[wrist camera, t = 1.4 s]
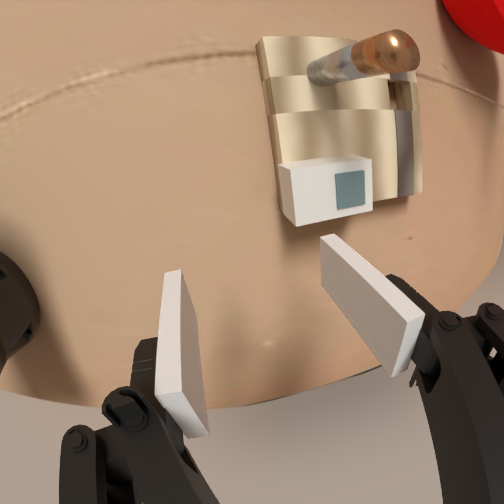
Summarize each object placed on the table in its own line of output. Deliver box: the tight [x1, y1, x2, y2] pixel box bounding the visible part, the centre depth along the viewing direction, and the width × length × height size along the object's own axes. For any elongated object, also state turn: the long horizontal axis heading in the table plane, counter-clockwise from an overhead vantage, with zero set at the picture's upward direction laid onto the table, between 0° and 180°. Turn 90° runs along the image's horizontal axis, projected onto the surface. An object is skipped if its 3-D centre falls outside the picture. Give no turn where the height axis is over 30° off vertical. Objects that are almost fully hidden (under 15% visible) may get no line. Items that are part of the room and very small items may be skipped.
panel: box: [255, 36, 422, 213], centre depth 26 cm, size 18×18×3 cm
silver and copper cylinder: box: [306, 29, 420, 87], centre depth 16 cm, size 3×3×12 cm
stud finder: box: [278, 154, 373, 227], centre depth 25 cm, size 8×5×4 cm, turn 98°
